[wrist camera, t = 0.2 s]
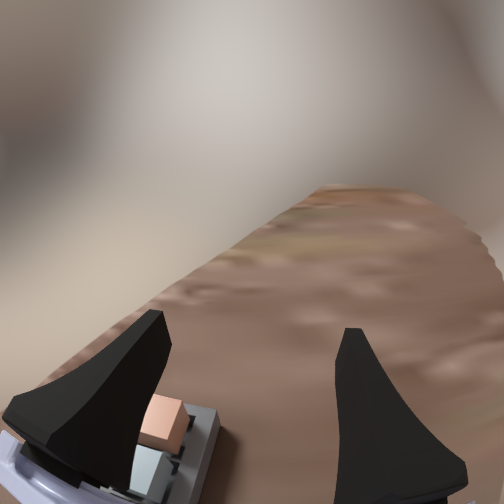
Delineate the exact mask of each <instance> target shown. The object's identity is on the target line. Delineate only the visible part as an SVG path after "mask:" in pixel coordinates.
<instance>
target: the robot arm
mask: <svg viewBox="0 0 504 504" xmlns="http://www.w3.org/2000/svg"><path fill="white" fill-rule="evenodd" d="M171 346H172V343H171V340H170V336H169V332H168V329H167V325H166V321H165V318H164V314H163V311H158V310H152V309H149V310H148V311H147V312H146V313H145V314H143V315H142V316H141V317H140V318H139V319H138V320H137V321H136V322H134V323H133V324H132V325H131V326H130V327H129V328H128V329H127V330H126V331H124V332H123V333H122V334H121V335H120V336H119V337H117V338H116V339H115V340H114V341H113V342H112V343H110V344H109V345H108V346H107V347H105V348H104V349H103V350H102V351H100V352H99V353H98V354H97V355H95V356H94V357H93V358H91V359H90V360H88V361H87V362H85V363H84V364H82V365H81V366H79V367H78V368H76V369H75V370H73V371H71V372H69V373H68V374H66V375H64V376H62V377H60V378H59V379H57V380H55V381H53V382H51V383H49V384H46V385H44V386H42V387H39V388H37V389H34V390H32V391H29V392H26V393H23V394H20V395H17V396H14V397H13V399H12V401H11V402H10V404H9V405H8V407H7V409H6V410H5V412H4V414H3V416H2V419H3V421H4V422H5V423H6V424H7V425H8V426H9V427H11V428H12V429H13V430H14V431H15V432H16V433H17V434H19V435H20V436H21V437H22V438H23V439H25V440H26V441H25V443H24V445H23V444H22V443H21V442H20V441H18V440H17V439H15V438H14V437H13V436H11V435H10V434H9V433H7V432H6V431H5V430H3V431H2V432H1V434H0V484H1V485H2V486H3V487H4V488H5V489H6V490H7V491H9V492H10V493H11V494H12V495H13V496H14V497H15V498H16V499H17V500H18V501H19V502H20V503H21V504H135V503H132V502H129V501H127V500H124V499H121V498H119V497H117V496H114V495H112V494H109V493H107V492H105V491H103V490H100V487H101V486H102V487H104V488H106V489H109V487H111V488H114V489H116V490H119V491H121V492H125V491H127V490H129V489H130V482H131V474H132V467H133V462H134V456H135V451H136V447H137V442H138V438H139V434H140V430H141V427H142V423H143V420H144V416H145V413H146V411H147V408H148V406H149V403H150V401H151V399H152V396H153V394H154V392H155V389H156V387H157V385H158V383H159V380H160V378H161V376H162V373H163V371H164V369H165V366H166V363H167V360H168V357H169V353H170V350H171ZM335 387H336V398H337V408H338V420H339V434H340V444H339V462H338V474H337V483H336V491H335V498H334V504H447V503H448V501H447V496H449V495H451V494H453V493H455V492H457V491H459V490H461V489H463V488H465V487H466V486H467V485H468V476H467V469H466V465H465V462H464V461H463V460H462V459H460V458H459V457H458V456H457V455H455V454H454V453H453V452H451V451H450V450H449V449H448V448H446V447H445V446H444V445H443V444H442V443H441V442H440V441H439V440H438V439H437V438H436V437H435V436H434V435H433V434H432V433H431V432H430V431H429V430H428V429H427V428H426V427H425V426H424V425H423V424H422V423H421V421H420V420H419V419H418V418H417V417H416V416H415V414H414V413H413V412H412V411H411V409H410V408H409V407H408V405H407V404H406V403H405V402H404V400H403V399H402V397H401V396H400V395H399V393H398V392H397V390H396V389H395V387H394V386H393V384H392V383H391V381H390V379H389V378H388V376H387V375H386V373H385V371H384V369H383V368H382V366H381V364H380V363H379V361H378V359H377V357H376V356H375V354H374V352H373V350H372V348H371V346H370V344H369V342H368V340H367V339H366V337H365V335H364V333H363V331H362V329H361V328H345V331H344V335H343V338H342V342H341V345H340V348H339V351H338V354H337V358H336V361H335ZM466 504H476V502H475V501H471V502H469V503H466Z"/></svg>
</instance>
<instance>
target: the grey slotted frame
mask: <svg viewBox="0 0 504 504" xmlns="http://www.w3.org/2000/svg"><path fill="white" fill-rule="evenodd" d="M183 404H184V407H185V409H186V411H187V414H188V416H189V418H190V421H189V424H188V427H187V430H186V432H185V435H184V438H183V441H182V444H181V447H180V450H179V453H178V455H176V454H173V453H169V452H166V451H162V450H159V449H155V448H152V447H149V446H146V445H143V444H140V443H137V445H140V446H143V447H146V448H149V449H153V450H156V451H159V452H162V453H163V454H164V455H165V456H166V458H167V459H168V460H169V461H170V462H171V464H172V465H173V466H174V467H173V470H172V473H171V475H170V478H169V481H168V484H167V487H166V490H165V493H164V496H163V499H162V501H161V504H198V502H199V498H200V495H201V492H202V488H203V485H204V481H205V478H206V474H207V471H208V467H209V464H210V460H211V457H212V453H213V450H214V446H215V443H216V439H217V435H218V432H219V428H220V425H221V424H220V420H219V416H218V413H217V409H211V408H205V407H200V406H195V405H190V404H185V403H183ZM100 490H103V491H105V492H107V493H109V494H112V495H114V496H117V497H119V498H121V499H124V500H127V501H129V502H132V503H135V504H160V503H156V502H154V501H151V500H148V499H145V498H142V497H140V496H137V495H134V494H132V493H129V492H127V491H125V492H121V491H119V490H116V489H114V488H111V487H109V489H106V488H104V487H102V486H101V487H100Z"/></svg>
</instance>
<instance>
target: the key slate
mask: <svg viewBox="0 0 504 504" xmlns="http://www.w3.org/2000/svg"><path fill="white" fill-rule="evenodd" d="M173 467H174V466H173V465H172V464H171V462H170V461H169V460H168V459H167V458H166V456H165V455H164V454H163V453H162V452H159V451H156V450H153V449H149V448H146V447H143V446H140V445H137V447H136V451H135V456H134V462H133V467H132V474H131V482H130V489H129V490H127V492H129V493H132V494H134V495H137V496H140V497H142V498H145V499H148V500H151V501H154V502H156V503H160V504H161V501H162V499H163V496H164V493H165V490H166V487H167V484H168V481H169V478H170V475H171V473H172V470H173Z"/></svg>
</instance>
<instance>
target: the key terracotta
mask: <svg viewBox="0 0 504 504" xmlns="http://www.w3.org/2000/svg"><path fill="white" fill-rule="evenodd" d="M189 421H190V418H189V416H188V414H187V411H186V409H185V407H184V404H183V402H182V401H181V400H177V399H172V398H168V397H164V396H160V395H156V394H153V396H152V399H151V401H150V403H149V406H148V408H147V411H146V413H145V416H144V420H143V423H142V427H141V430H140V434H139V438H138V442H137V443H140V444H143V445H146V446H149V447H152V448H155V449H159V450H162V451H166V452H169V453H173V454H176V455H178V453H179V450H180V447H181V444H182V441H183V438H184V435H185V432H186V430H187V427H188V424H189Z"/></svg>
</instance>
